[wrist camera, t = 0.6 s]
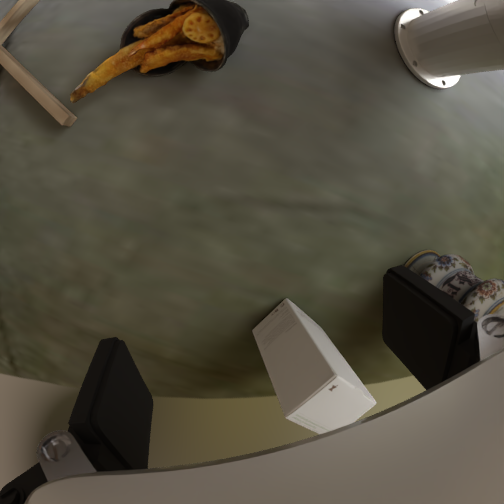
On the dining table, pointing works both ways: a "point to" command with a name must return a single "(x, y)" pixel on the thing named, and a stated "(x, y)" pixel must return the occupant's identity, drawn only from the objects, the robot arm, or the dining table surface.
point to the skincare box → (309, 371)
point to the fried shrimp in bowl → (173, 41)
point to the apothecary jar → (460, 282)
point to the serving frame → (23, 75)
